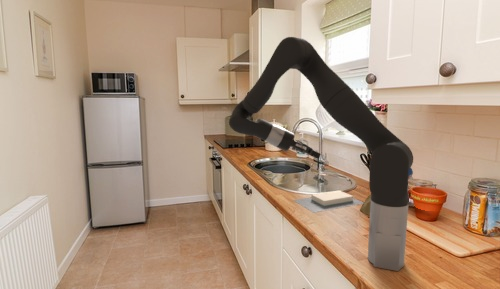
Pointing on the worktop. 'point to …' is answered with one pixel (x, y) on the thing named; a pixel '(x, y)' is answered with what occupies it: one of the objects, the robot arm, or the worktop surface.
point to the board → (317, 207)
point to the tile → (332, 198)
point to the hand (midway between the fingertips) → (318, 156)
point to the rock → (366, 206)
